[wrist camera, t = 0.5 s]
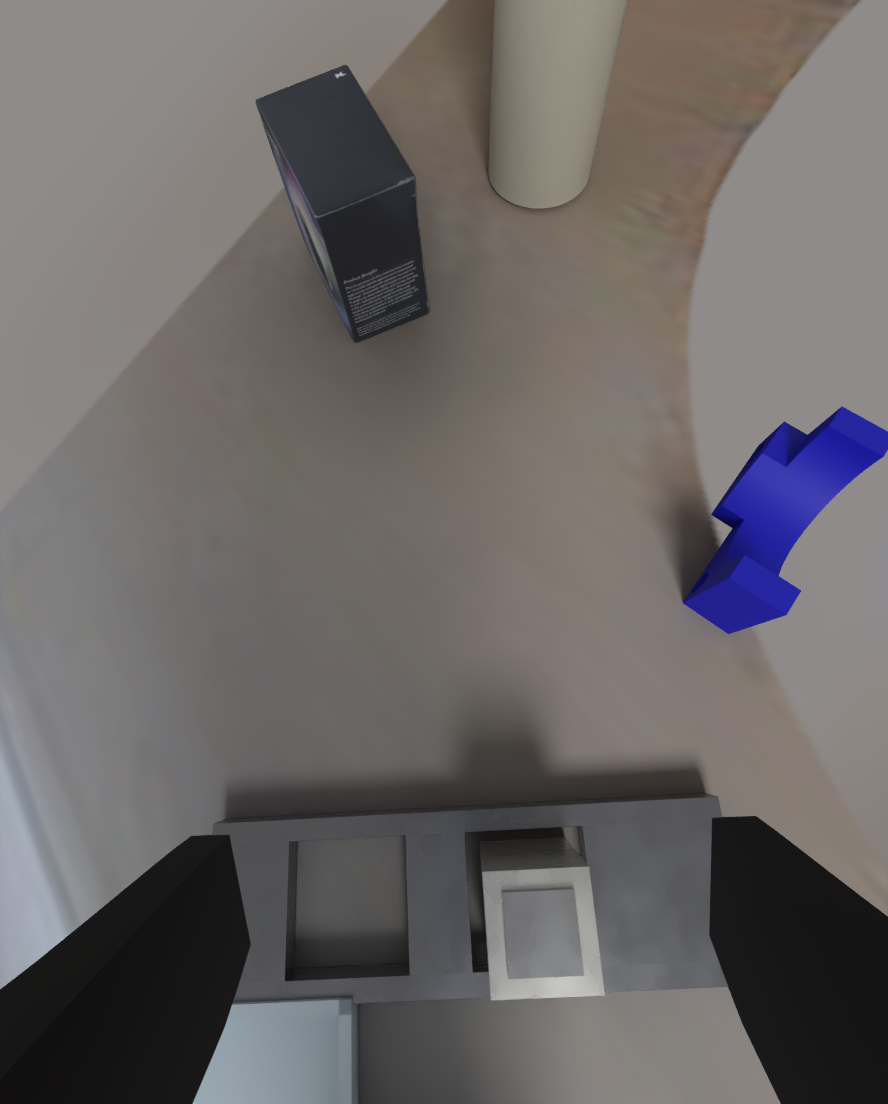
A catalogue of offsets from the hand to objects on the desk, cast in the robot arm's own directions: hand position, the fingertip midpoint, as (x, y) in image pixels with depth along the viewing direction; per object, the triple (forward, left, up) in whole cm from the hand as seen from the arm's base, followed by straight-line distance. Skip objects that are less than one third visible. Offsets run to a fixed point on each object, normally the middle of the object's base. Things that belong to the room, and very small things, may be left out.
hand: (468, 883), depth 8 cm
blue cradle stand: (+12, -18, -23) cm, 32 cm away
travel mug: (+44, -9, -23) cm, 50 cm away
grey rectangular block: (-6, -3, -23) cm, 23 cm away
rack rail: (-6, 0, -22) cm, 23 cm away
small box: (+35, +5, -23) cm, 42 cm away
